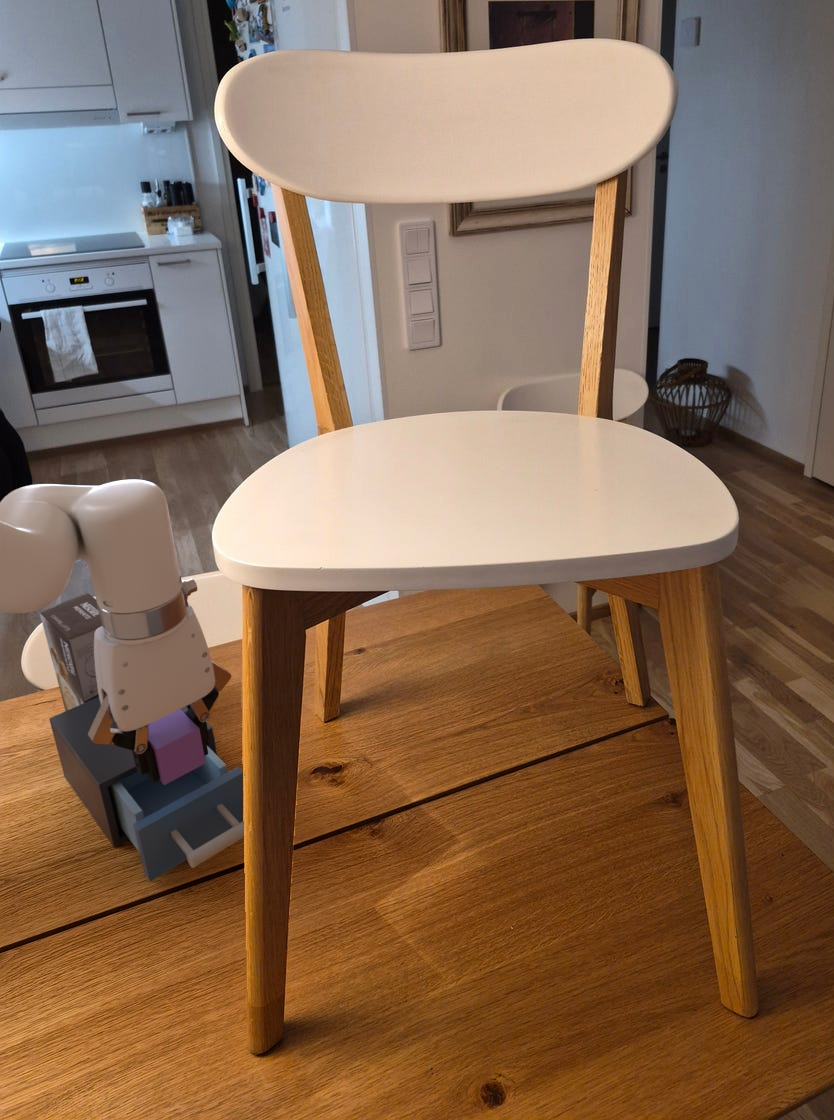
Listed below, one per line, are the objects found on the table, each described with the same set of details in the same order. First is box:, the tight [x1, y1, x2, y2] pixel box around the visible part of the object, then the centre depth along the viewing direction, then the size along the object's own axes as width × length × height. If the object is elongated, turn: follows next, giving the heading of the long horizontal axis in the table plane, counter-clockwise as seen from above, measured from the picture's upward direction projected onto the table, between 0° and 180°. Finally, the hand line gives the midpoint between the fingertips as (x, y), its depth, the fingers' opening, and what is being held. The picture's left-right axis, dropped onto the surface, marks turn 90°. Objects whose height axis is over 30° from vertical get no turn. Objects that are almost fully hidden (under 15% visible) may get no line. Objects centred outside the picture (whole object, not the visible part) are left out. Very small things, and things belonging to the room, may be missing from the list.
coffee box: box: [39, 592, 102, 712], centre depth 106 cm, size 9×6×16 cm
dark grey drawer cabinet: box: [49, 697, 218, 848], centre depth 97 cm, size 15×13×9 cm
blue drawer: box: [108, 746, 245, 883], centre depth 90 cm, size 19×11×7 cm, turn 44°
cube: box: [148, 709, 206, 785], centre depth 86 cm, size 4×4×4 cm
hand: (174, 760), depth 87 cm, fingers closed on cube, 4 cm apart
